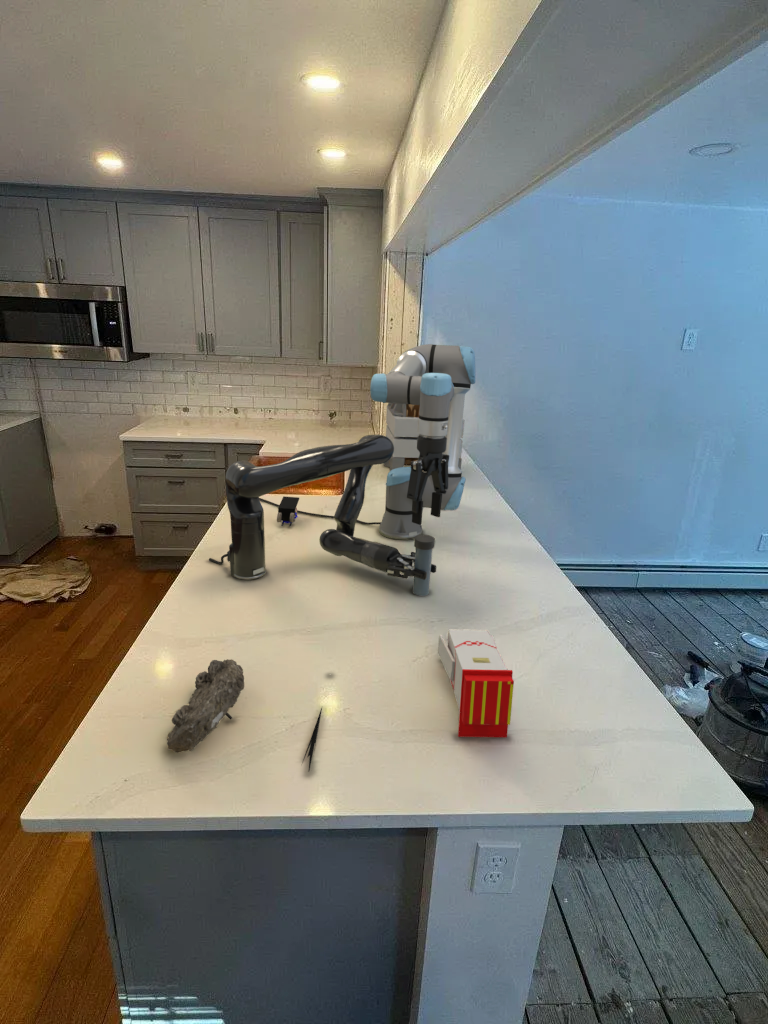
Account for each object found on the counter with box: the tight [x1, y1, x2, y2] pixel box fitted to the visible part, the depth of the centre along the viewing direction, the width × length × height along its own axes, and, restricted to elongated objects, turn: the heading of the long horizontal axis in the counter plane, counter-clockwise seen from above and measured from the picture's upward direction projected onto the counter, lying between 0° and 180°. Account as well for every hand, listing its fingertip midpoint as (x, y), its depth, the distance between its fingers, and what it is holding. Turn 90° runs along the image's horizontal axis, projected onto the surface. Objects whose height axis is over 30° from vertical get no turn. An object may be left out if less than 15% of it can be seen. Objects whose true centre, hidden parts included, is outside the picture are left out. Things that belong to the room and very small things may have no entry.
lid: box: [413, 534, 436, 550], centre depth 154 cm, size 6×6×2 cm
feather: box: [301, 673, 332, 771], centre depth 108 cm, size 2×28×2 cm
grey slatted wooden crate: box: [382, 403, 465, 472], centre depth 268 cm, size 34×33×41 cm
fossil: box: [166, 658, 245, 754], centre depth 106 cm, size 22×10×15 cm
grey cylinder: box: [412, 547, 434, 597], centre depth 157 cm, size 5×5×16 cm
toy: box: [437, 628, 515, 738], centre depth 117 cm, size 12×13×30 cm
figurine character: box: [276, 495, 300, 527], centre depth 205 cm, size 7×8×15 cm
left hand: (430, 572), depth 156 cm, fingers closed on grey cylinder, 4 cm apart
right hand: (426, 519), depth 152 cm, fingers open, 8 cm apart
